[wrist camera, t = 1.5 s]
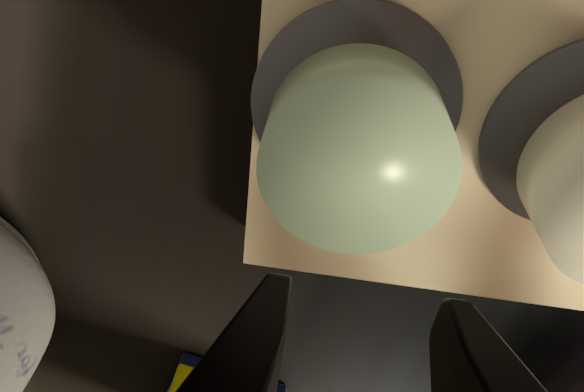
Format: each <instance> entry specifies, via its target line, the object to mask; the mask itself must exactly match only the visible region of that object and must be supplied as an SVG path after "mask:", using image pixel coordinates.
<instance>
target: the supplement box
mask: <svg viewBox="0 0 584 392" xmlns="http://www.w3.org/2000/svg"><path fill="white" fill-rule="evenodd" d="M200 359H201V357H198V356H195V355H192V354H188V353H183V354H182V355H181V358H180V361H179V364H178V367H177V370H176V373H175V375H174V377H173V380H172V382H171V384H170V386H169V388H168V390H167V392H175V391H176V390H177V389H178V387H179V386H180V385H181V384H182V382H183V381H184V380H185V378H186V377H187V376H188V375H189V373H190V372H191V371H192V370H193V368H194V367H195V366H196V364H197V363H198V362H199V361H200ZM277 392H287V387H286V385H283V384H280V383H278V386H277Z"/></svg>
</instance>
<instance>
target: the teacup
mask: <svg viewBox="0 0 584 392" xmlns="http://www.w3.org/2000/svg"><path fill="white" fill-rule="evenodd" d="M54 323H55V300H54V295H53V291H52V288H51V285H50V283H49V280H48V278H47V276H46V273H45V272H44V270H43V268H42V267H41V265H40V262H39V260H38V258H37V256H36V255H35V253H34V251H33V250H32V248H31V247H30V245H29V244H28V243H27V241H26V240H25V239H24V238H23V236H22V235H21V234H20V233H19V232H18V231H17V230H16V229H15V228H14V227H13V226H11V225H10V224H9V223H8V222H6V221H5V220H4V219H3V218H1V217H0V392H23V390H24V388H25V387H26V385H27V383H28V382H29V380H30V378H31V377H32V375H33V373H34V371H35V369H36V368H37V366H38V364H39V362H40V360H41V358H42V356H43V354H44V352H45V350H46V348H47V346H48V344H49V341H50V339H51V336H52V332H53V328H54Z"/></svg>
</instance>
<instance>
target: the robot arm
mask: <svg viewBox="0 0 584 392" xmlns="http://www.w3.org/2000/svg"><path fill="white" fill-rule="evenodd" d="M291 285H292V278H291V277H290V276H289V275H283V274H276V273H269V274H267V275H266V276H265V278H264V279H263V280H262V281H261V283H260V284H259V285H258V286H257V288H256V289H255V290H254V292H253V293H252V294H251V295H250V297H249V298H248V299H247V301H246V302H245V303H244V304H243V306H242V307H241V308H240V309H239V311H238V312H237V313H236V315H235V316H234V317H233V318H232V320H231V321H230V322H229V324H228V325H227V326H226V327H225V329H224V330H223V331H222V332H221V334H220V335H219V336H218V338H217V339H216V340H215V341H214V343H213V344H212V345H211V347H210V348H209V349H208V350H207V352H206V353H205V354H204V355H203V357H202V358H201V359H200V361H199V362H198V363H197V364H196V366H195V367H194V368H193V370H192V371H191V372H190V373H189V375H188V376H187V377H186V378H185V380H184V381H183V382H182V384H181V385H180V386H179V387H178V389H177V390H176V391H175V392H277V386H278V380H279V373H280V367H281V360H282V353H283V347H284V340H285V334H286V327H287V319H288V311H289V302H290V293H291ZM429 348H430V371H431V392H548V391H547V390H546V389H545V388H544V387H543V386H542V384H541V383H540V382H539V381H538V380H537V379H536V377H535V376H534V375H533V374H532V373H531V371H530V370H529V369H528V368H527V367H526V366H525V364H524V363H523V362H522V361H521V360H520V359H519V357H518V356H517V355H516V354H515V353H514V352H513V350H512V349H511V348H510V347H509V346H508V345H507V343H506V342H505V341H504V340H503V339H502V338H501V336H500V335H499V334H498V333H497V332H496V331H495V329H494V328H493V327H492V326H491V325H490V324H489V322H488V321H487V320H486V319H485V318H484V317H483V315H482V314H481V313H480V312H479V311H478V310H477V308H476V307H475V306H474V305H473V304H472V303H471V302H469V301H467V300H462V299H455V298H446V299H444V300H443V302H442V303H441V306H440V308H439V311H438V313H437V316H436V318H435V321H434V323H433V326H432V328H431V332H430V339H429Z"/></svg>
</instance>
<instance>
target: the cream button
mask: <svg viewBox="0 0 584 392" xmlns="http://www.w3.org/2000/svg"><path fill="white" fill-rule="evenodd" d="M516 184H517V191H518V194H519V197H520V200H521V201H522V203H523V205H524V207H525V209H526V211H527V213H528V215H529V217H530V219H531V221H532V223H533V225H534V227H535V229H536V231H537V233H538V235H539V237H540V239H541V241H542V243H543V245H544V247H545V249H546V251H547V253H548V255H549V257H550V259H551V261H552V262H553V263H554V265H555V266H556V267H557V268H558V269H559V270H560V271H561V272H562V273H564V274H565V275H566V276H568V277H569V278H571V279H572V280H574V281H577V282H579V283H581V284H583V285H584V95H582V96H579V97H577V98H575V99H573V100H572V101H570V102H569V103H567V104H565V105H564V106H562V107H561V108H559V109H558V110H557V111H555V112H554V113H553V114H552V115H550V116H549V117H548V118H547V119H546V120H545V121H544V122H543V123H542V124H541V125H540V126H539V127H538V128H537V130H536V131H535V132H534V133H533V135H532V136H531V138H530V139H529V140H528V142H527V144H526V145H525V147H524V149H523V151H522V153H521V156H520V159H519V162H518V167H517V172H516Z"/></svg>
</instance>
